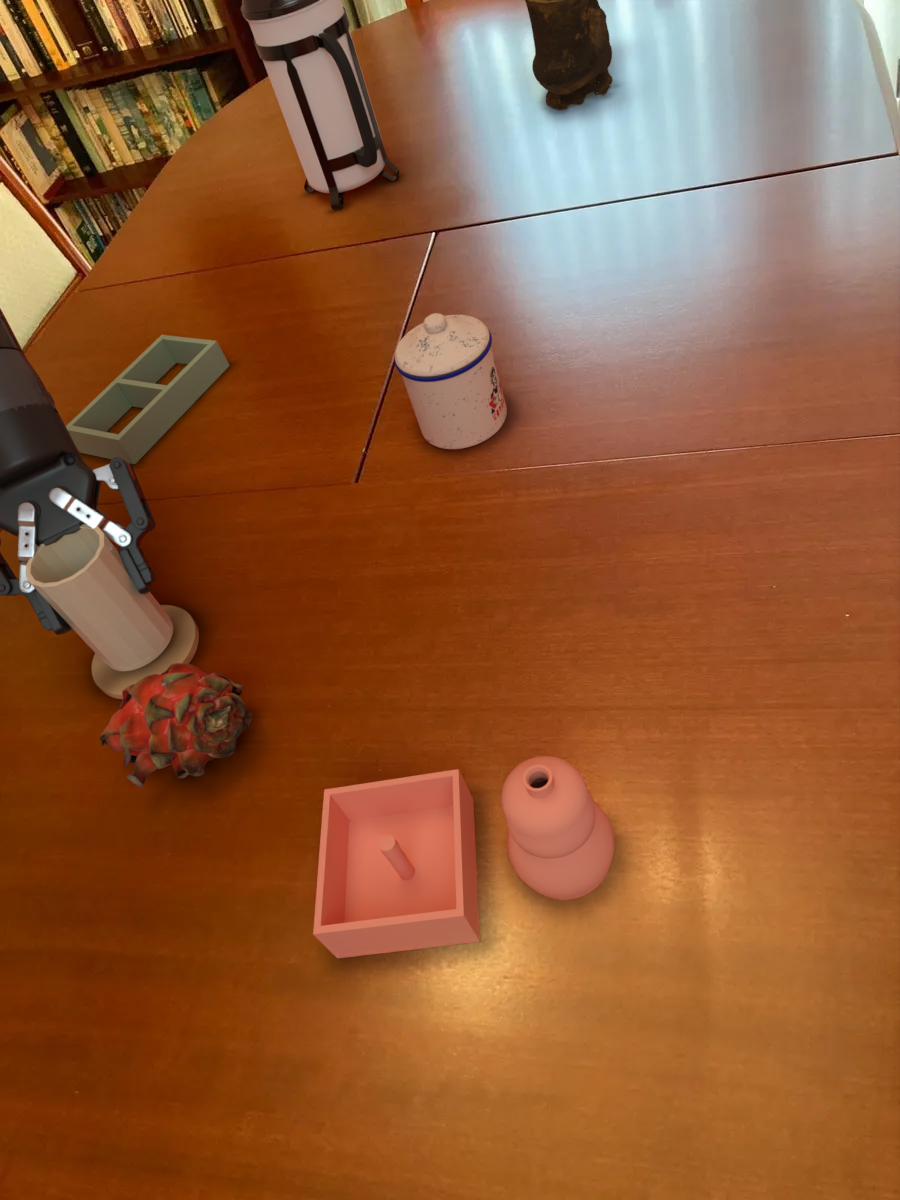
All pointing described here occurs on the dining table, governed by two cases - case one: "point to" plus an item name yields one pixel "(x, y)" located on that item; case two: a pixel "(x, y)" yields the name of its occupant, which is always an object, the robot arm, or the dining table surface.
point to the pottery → (447, 854)
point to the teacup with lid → (452, 380)
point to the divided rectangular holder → (147, 398)
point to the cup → (100, 599)
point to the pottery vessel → (570, 49)
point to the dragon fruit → (177, 721)
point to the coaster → (175, 652)
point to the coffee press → (320, 92)
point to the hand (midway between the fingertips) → (106, 611)
